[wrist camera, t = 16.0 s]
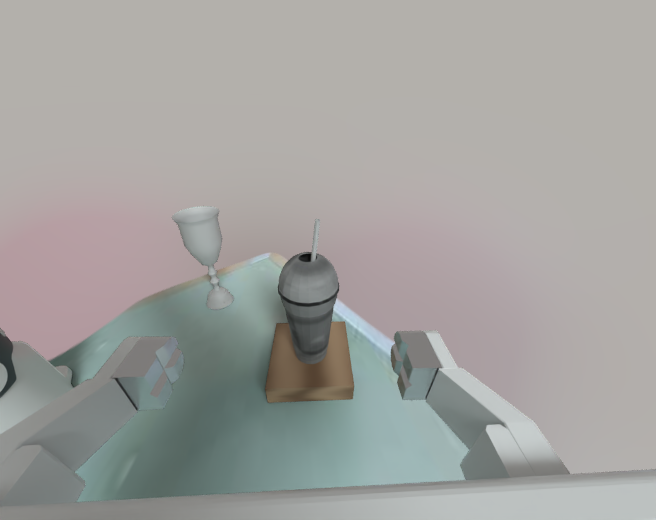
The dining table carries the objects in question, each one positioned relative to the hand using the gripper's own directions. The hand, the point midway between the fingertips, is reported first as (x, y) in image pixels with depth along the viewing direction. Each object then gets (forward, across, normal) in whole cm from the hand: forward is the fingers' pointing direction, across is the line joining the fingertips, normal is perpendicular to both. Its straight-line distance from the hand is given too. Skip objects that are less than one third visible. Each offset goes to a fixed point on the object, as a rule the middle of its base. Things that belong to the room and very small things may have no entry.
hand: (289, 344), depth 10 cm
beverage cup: (+17, -1, +22) cm, 28 cm away
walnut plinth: (+17, 0, +25) cm, 30 cm away
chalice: (+32, +17, +26) cm, 45 cm away
